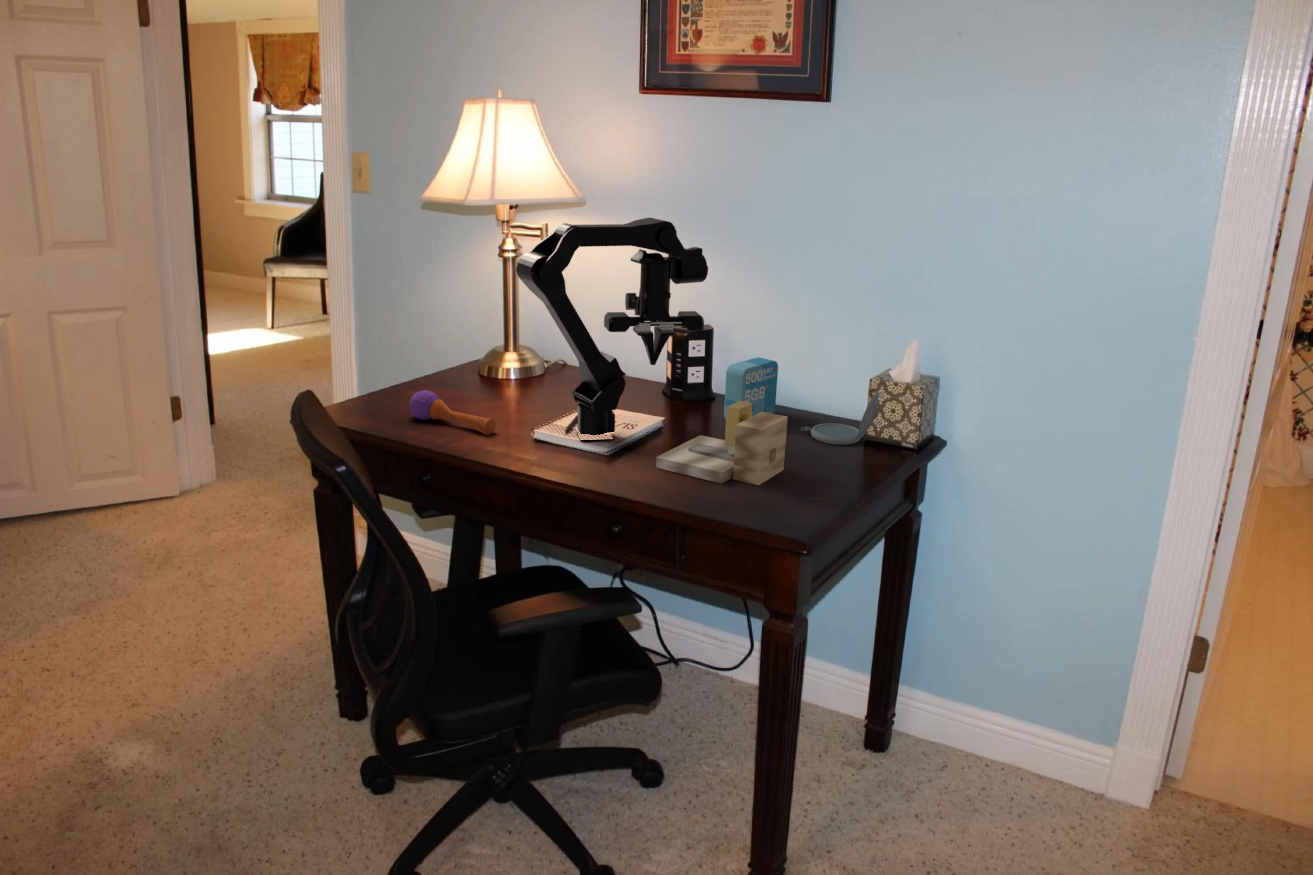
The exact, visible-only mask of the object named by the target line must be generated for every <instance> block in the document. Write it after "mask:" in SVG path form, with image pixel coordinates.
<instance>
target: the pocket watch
mask: <svg viewBox="0 0 1313 875" xmlns="http://www.w3.org/2000/svg"><path fill="white" fill-rule="evenodd" d="M878 396H879V393H878V392H877V391H876V392H875V393H874V395H873V396H872V397H871V399H870V400H869V403H868V404H867V406H866V408H865V411H864V413H863V416H862V418H861V421H860V423H859V424H860V425H859V427H858V428H857V427H855V426H852V425H849V424H848V425H847V424H844V423H836V422H835V423H834V422H833V423H832V422H831V423H830V422H826V423H819V424H816V425H814V426H813V427H812V428H811V427H810V426H802V427H801V428H800V429H801V430H802V431H804V432H810V435H811V438H813V439H815V440H816V441H818V442H821V443H822V444H828V445H835V446H848V445H853V444H855V443H858V442H859V441H861V439H862V438H863V437H864V436H865V435H866V434H867V433H868V431H869V430H870V428H871V426H872V425H873V423H874V421H875V419H874V417H875V414H876V410H877V406H878ZM875 418H876V417H875ZM873 420H874V421H873ZM872 422H873V423H872ZM871 424H872V425H871ZM868 429H869V430H868ZM801 430H800V431H801Z"/></svg>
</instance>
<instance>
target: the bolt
mask: <svg viewBox="0 0 1313 875" xmlns="http://www.w3.org/2000/svg"><path fill="white" fill-rule="evenodd" d="M750 417H752V403H749V402H744V401H738V402H736V403H734V404H732V405H730V406H727V410H726V419H725V428H724V429H725V430H724V432H725V433H724V440H725V445H727V446H728V454H733V455H734V453H735V436H736V425H737V424H739V423H740V422H742V421H744V420H746V419H748V418H750Z"/></svg>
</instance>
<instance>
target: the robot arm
mask: <svg viewBox="0 0 1313 875" xmlns="http://www.w3.org/2000/svg"><path fill="white" fill-rule="evenodd" d="M677 232H678V231H677V229H676V226H675V225H674V223H672V222H671V221H667V220H663V219H660V218H654V217H645V218H640V219H635V220H632V221H631V222H628V223H623V224H622V223H620V224H617V223H616V224H615V223H614V224H612V223H611V224H605V223H604V224H601V223H599V224H570V223H564V222H563V223H561V224H559V225H558V226H557V227H556V228H555V229H554V230H553V231H552V232H551V233H550V234H549V235H548V236H546V237H544V238H543V239H542V240H541V241H539V242H538V243H536V244H535V245H534V246H533V247H532V249H530V251H528V252H525V253H524V254H522V255H521V256H520V257H519V259H518V261H517V262H516V268H515V272H516V275H517V277H518V278H519V280H520V281H521V282H522V283H523V284H524V285H525V286H526V287H527V288H528V291H530V292H532V294H534V296H536V297H537V299H539V300H540V301H541V302H542V303H543V305H544V306H545V308H546V309H547V311H548V313H549V314H550V316H551V317H552V320H553V321H554V323H555V324H556V326H557V327H558V329H559V331H560V332H561V334H562V336H563V338H564V339H565V342H567V344H568V346H569V348H570V349H571V351H572V353H573V354H574V356H575V358H576V359H577V361H578V367H579V369H578V370H579V376H580V378H581V381H580V382H579V383H578V385H576V387H575V388H574V389H573V390H572V391H571V394H572V397H573V401H574V402H575V403H578V404H577V429H578V430H579V432H580V433H581V434H590V435H597V434H598V435H600V434H604V433H607V432H614V431H616V414H615V412H614V411H616V410H617V408H618V405H619V402H620V399H621V396H622V395H623V393H624V391H625V387H626V386H627V383H626V379H625V377H624V376H626V372H624V371H623V370H622V368H621V367H620V364H619V361H618V359H617V358H616V357H614V356H612V355H610V354H608V353H605V352H603V351H600V349H599V347H598V346H597V344H596V343H595V341H594V339H593V338H592V336H591V334H590V332H589V331H588V329H587V327H586V326H585V323H584V322H583V320H582V318H581V317H580V315H579V314H578V312H577V310H576V308H575V307H574V305H573V303H572V301H571V300H570V297H569V296H568V295H567V291H566V290H567V288H566V279H565V278H564V274H563V272H564V271H565V270H566V269H567V267H568V266H569V265H570V262H571V260H572V259H573V256H574V254H575V252H576V251H577V250H578V249H579V248H580V247H581V248H582V247H587V248H588V247H629V246H632V247H636V248H640V249H639V250H638V251H636V252H637V253H635V254H634V255H632V256H631V257H630V261H631V262H633V263H636V264H639V265H640V283H639V285H640V286H639V291H638V296H637V293H636V292H627V293H625V298H624V299H625V300H624V301H625V302H624V304H625V305H624V306H625V307H624V308H625V310H626V311H634V315H635V316H629V315H628V314H627V313H626V312H625V311H619V312H617V311H616V312H614V311H613V312H610V311H609V312H606V313H605V314H604V320H603V325H604V326H603V327H604V328H605V329H606V330H607V331H608V332H610V333H627V331H628V330H629V329H630V327H631V328H632V330H633V332H635V334H636V335H637V336H638V337H640V338H641V340H642V343H643V345H644V348H645V351H646V356H647V358H648V361H649V364H650V365H651V366H656V364H657V363H658V362H657V361H658V359H659V358H660V355H661V354H662V350H663V349H664V347H665V345H666V343H667V342H668V340H669V338H670V337H671V336H675V335H676V332H675V331H674V328H675V327H677V326H682V327H683V326H684V328H686V330H687V331H691V332H692V331H693V332H697V331H700V332H701V331H702V332H703V331H704V329H705V328H704V327H705V319H704V317H703V316H702V315H701V314H700V313H699V312H697V311H696V310H694V311H693V310H690V311H688V310H687V311H686V310H685V311H682V310H681V311H678V313H677V315H676V316H675V315H671V316H670V300H671V294H672V293H671V281H672V283H673V284H675V285H679V284H680V285H681V284H683V285H684V284H693V283H703V282H705V280H706V279H707V277H708V273H709V266H708V263H707V259H706V257H705V256H704V254H703V248H702V247H697V246H692V247H689V248H685V247H684V245H683V243H682V242H681V240H680V239H679V236H678V233H677ZM645 249H646V250H651V251H656V252H647V251H646V250H645ZM661 253H662V254H661ZM663 254H666V255H667V256H664V255H663ZM651 327H653V330H654V331H652V330H651Z"/></svg>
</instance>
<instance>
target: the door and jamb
mask: <svg viewBox="0 0 1313 875" xmlns="http://www.w3.org/2000/svg"><path fill="white" fill-rule="evenodd" d="M788 418H789V417H788V416H787V415H782V414H776V413H773V414H772V413H767V412H760V413H758V414H756V415H754V416H752V417H750V418H748V419H746V420H744V421H742V422H740V423H739V424H737V425H736V436H735V453H734V455H733V454H728V446H727V445H725V439H721V438H720V439H719V438H716V437H710V436H706V435H702V434H700V435H698V436H696V437H694V438H692V439H690V440H688V441H686V442H683V443H682V444H680V445H678V446H676V447H673V448H671V449H670V450H667V451H666V452H664V453H662V454H660V455H657V456H656V457H655V468H656V469H661V470H664V471H669V472H673V473H677V474H681V475H685V476H690V477H694V478H698V479H702V480H706V481H709V482H713V483H714V482H715V483H718V484H723V483H725V482H727V481H729V480H731V479H732V480H735V481H738V482H742V483H747V484H750V485H751V484H752V485H755V486H760V485H762V484H763V483H765V482H766V481H768V480H770V479H771V478H773V477H775V476H776V475H777V474H779V473H781V472H782V471H783V470H784V469H785V459H786V458H785V457H786V456H785V455H786V445H787V444H786V443H787V441H786V440H787V431H788V430H787V428H788Z"/></svg>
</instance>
